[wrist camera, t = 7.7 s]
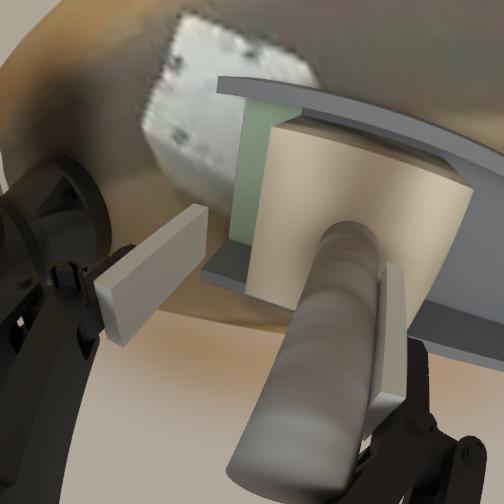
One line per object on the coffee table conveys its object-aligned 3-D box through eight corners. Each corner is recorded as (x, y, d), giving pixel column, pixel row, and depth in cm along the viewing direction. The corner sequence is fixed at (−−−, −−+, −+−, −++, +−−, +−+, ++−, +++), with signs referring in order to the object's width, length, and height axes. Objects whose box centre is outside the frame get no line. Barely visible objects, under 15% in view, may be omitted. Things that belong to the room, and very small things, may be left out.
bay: (232, 242, 28) (200, 279, 23) (254, 77, 20) (218, 76, 15) (521, 334, 21) (537, 379, 16) (589, 207, 14) (625, 239, 9)
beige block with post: (276, 241, 25) (134, 463, 10) (301, 115, 20) (45, 243, 4) (397, 279, 23) (375, 540, 7) (443, 158, 17) (601, 412, 2)
